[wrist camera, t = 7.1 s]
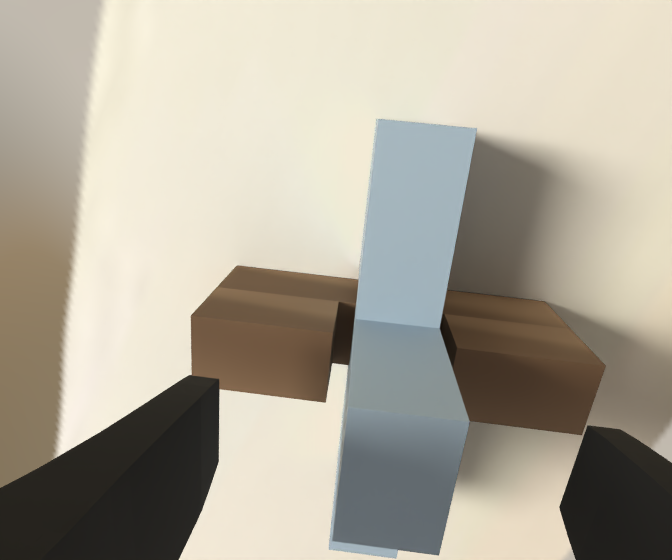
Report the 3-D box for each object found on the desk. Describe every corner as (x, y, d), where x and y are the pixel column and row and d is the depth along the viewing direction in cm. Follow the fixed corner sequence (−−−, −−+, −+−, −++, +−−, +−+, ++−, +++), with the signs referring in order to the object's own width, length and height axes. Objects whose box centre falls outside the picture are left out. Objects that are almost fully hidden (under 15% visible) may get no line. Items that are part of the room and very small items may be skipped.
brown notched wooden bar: (529, 356, 15) (582, 435, 11) (235, 320, 15) (191, 385, 12) (544, 301, 14) (605, 365, 11) (236, 265, 15) (190, 315, 11)
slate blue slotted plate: (390, 461, 17) (404, 704, 10) (338, 454, 17) (314, 690, 10) (446, 125, 13) (535, 134, 6) (376, 119, 13) (382, 119, 6)
